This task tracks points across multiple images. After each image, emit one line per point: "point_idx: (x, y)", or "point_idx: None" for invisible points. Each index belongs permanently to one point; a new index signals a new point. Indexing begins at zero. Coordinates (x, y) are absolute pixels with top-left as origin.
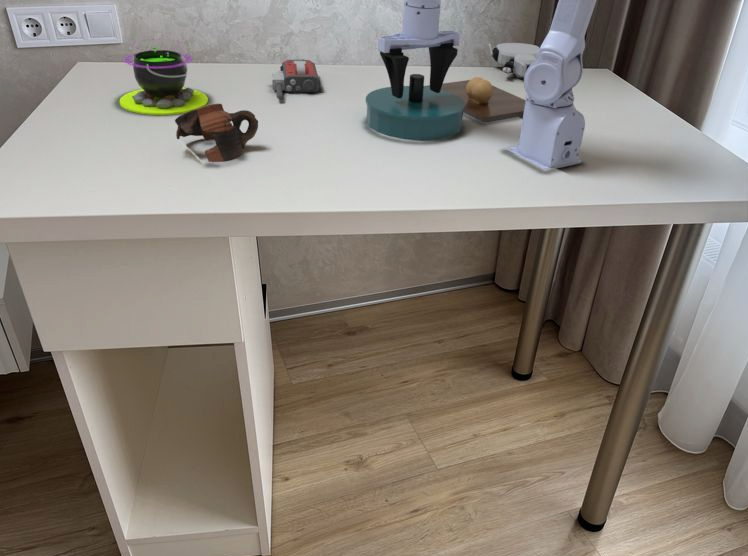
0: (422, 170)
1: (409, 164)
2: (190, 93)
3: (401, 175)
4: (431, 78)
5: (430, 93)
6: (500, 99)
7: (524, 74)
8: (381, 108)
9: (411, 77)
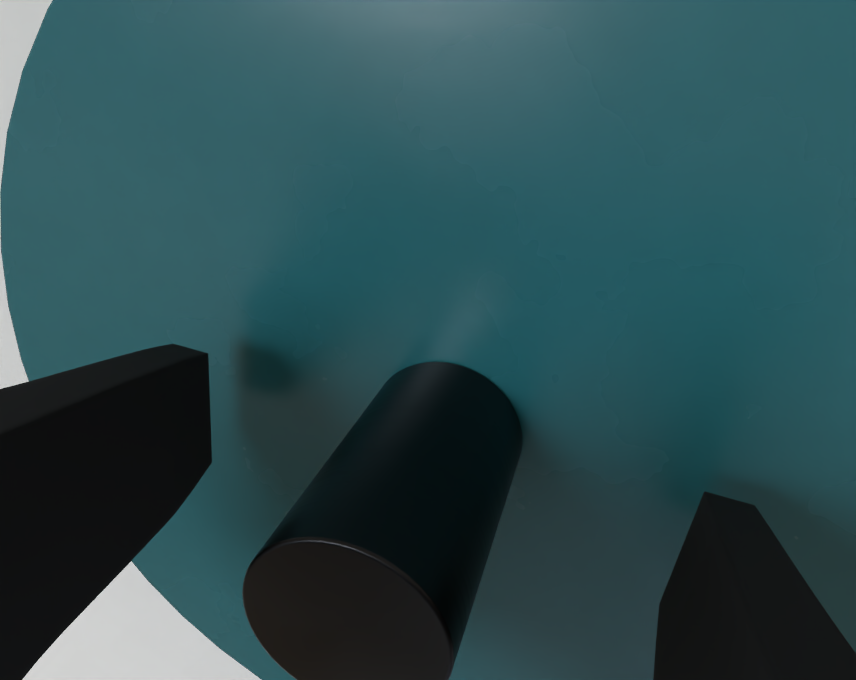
0: (164, 676)
1: (146, 617)
2: None
3: (73, 644)
4: (722, 610)
5: (827, 378)
6: None
7: None
8: None
9: (248, 594)
